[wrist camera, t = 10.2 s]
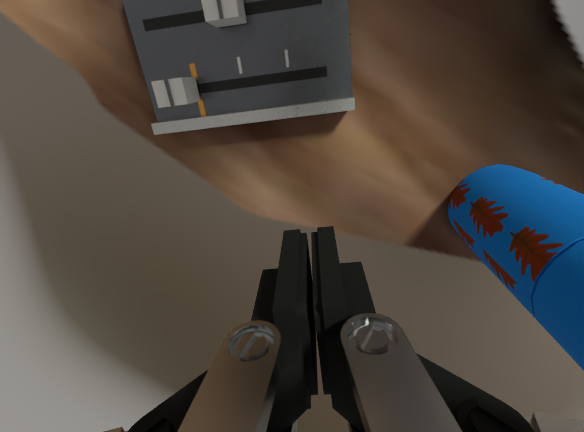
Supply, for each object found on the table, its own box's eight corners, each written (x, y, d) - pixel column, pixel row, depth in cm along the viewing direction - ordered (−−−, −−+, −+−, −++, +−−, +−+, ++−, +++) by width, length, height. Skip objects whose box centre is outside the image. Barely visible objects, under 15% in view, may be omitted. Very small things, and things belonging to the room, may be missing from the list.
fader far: (195, 76, 33) (180, 77, 29) (200, 100, 34) (187, 104, 30) (168, 80, 34) (150, 81, 30) (174, 104, 34) (157, 108, 31)
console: (343, -46, 30) (347, -60, 27) (350, 106, 36) (354, 109, 33) (128, -9, 32) (108, -18, 29) (167, 129, 38) (154, 134, 35)
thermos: (554, 188, 39) (902, 349, 16) (493, 253, 43) (702, 455, 20) (485, 147, 37) (765, 262, 15) (428, 219, 41) (577, 396, 19)
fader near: (242, -6, 30) (232, -18, 26) (246, 23, 31) (238, 15, 27) (211, -1, 30) (198, -12, 26) (217, 27, 31) (204, 21, 27)
